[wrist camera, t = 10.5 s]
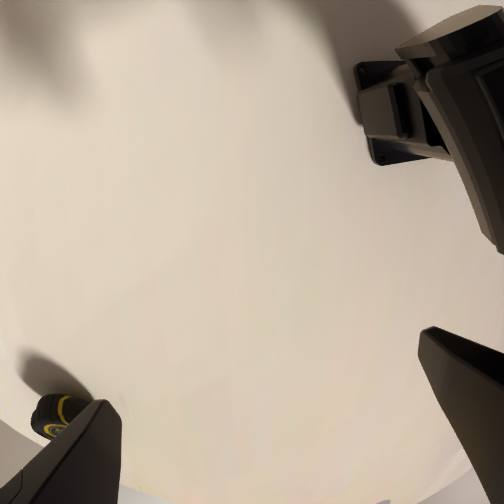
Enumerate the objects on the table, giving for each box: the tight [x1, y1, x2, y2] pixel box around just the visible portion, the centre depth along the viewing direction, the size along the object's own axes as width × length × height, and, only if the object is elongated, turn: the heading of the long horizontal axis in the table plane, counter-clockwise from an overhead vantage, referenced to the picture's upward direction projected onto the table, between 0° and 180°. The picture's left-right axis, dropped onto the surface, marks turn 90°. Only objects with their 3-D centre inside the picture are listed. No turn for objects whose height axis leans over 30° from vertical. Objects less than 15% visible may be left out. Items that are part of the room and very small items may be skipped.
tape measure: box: [31, 394, 89, 441], centre depth 21 cm, size 7×7×4 cm
